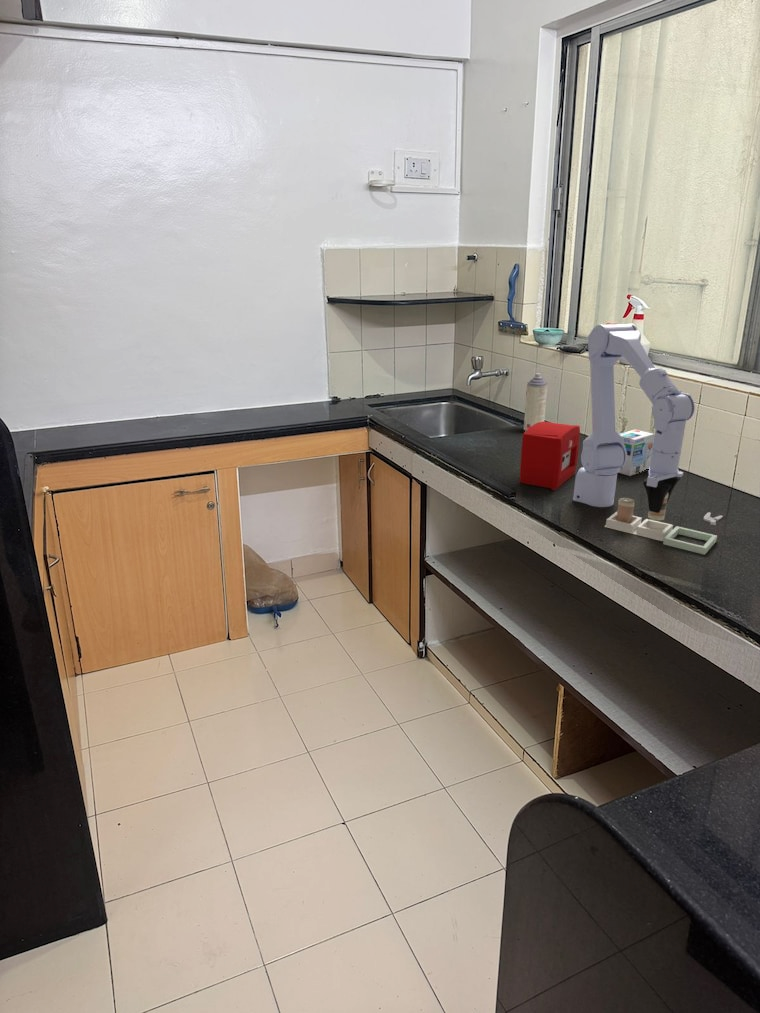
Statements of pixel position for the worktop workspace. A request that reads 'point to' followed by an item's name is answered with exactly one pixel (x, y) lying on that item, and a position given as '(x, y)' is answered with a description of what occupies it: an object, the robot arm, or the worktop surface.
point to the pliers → (712, 520)
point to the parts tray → (704, 549)
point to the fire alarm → (549, 454)
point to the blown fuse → (662, 512)
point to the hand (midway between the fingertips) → (657, 508)
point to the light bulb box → (637, 451)
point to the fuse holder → (641, 527)
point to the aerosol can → (535, 401)
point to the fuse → (625, 510)
